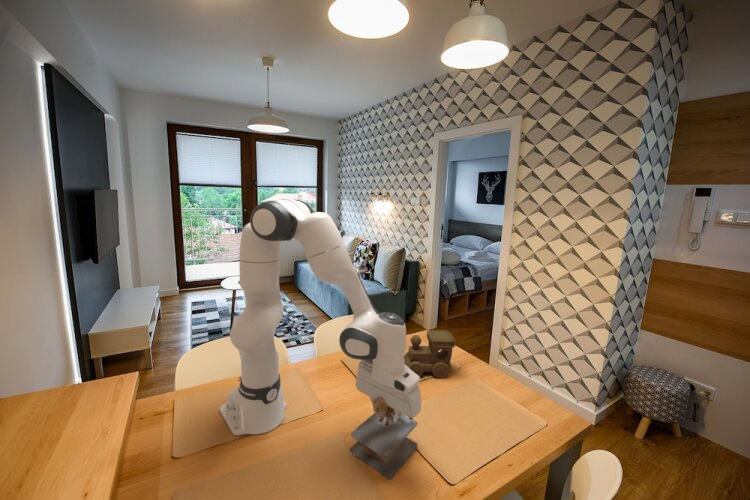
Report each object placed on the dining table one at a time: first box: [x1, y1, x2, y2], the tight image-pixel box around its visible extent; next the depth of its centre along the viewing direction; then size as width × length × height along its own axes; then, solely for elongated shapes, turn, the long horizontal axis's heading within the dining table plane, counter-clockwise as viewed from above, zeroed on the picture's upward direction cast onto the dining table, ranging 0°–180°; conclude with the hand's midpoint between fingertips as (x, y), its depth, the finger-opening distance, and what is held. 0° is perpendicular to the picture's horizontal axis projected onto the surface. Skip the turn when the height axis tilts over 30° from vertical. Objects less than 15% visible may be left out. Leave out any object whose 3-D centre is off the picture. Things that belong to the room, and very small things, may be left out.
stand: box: [349, 412, 418, 481], centre depth 93 cm, size 14×16×8 cm
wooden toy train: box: [404, 329, 456, 379], centre depth 135 cm, size 20×11×17 cm, turn 93°
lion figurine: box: [372, 398, 414, 428], centre depth 92 cm, size 15×5×9 cm, turn 125°
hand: (385, 415), depth 91 cm, fingers closed on lion figurine, 5 cm apart
